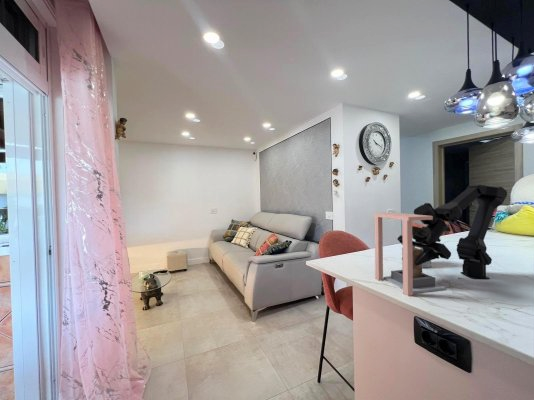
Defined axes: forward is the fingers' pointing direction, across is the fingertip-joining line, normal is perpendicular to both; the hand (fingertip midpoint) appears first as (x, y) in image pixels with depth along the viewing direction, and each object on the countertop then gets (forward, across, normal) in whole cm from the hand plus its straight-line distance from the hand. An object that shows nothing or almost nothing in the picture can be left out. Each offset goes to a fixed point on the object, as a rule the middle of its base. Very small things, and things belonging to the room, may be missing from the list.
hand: (409, 262), depth 82 cm
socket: (+5, 0, +7) cm, 9 cm away
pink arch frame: (+9, 0, +3) cm, 9 cm away
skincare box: (-10, -18, +22) cm, 30 cm away
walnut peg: (+4, 0, +6) cm, 8 cm away
